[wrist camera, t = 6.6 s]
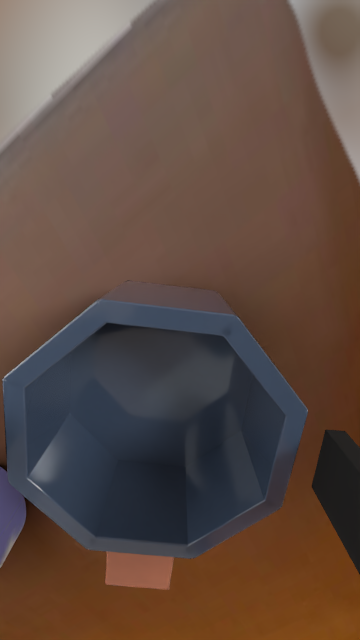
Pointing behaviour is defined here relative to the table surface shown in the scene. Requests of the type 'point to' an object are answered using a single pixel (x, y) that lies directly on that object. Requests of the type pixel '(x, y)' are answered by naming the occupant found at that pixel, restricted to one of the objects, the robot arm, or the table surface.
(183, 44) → the table surface
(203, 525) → the bowl
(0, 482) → the container
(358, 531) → the robot arm
